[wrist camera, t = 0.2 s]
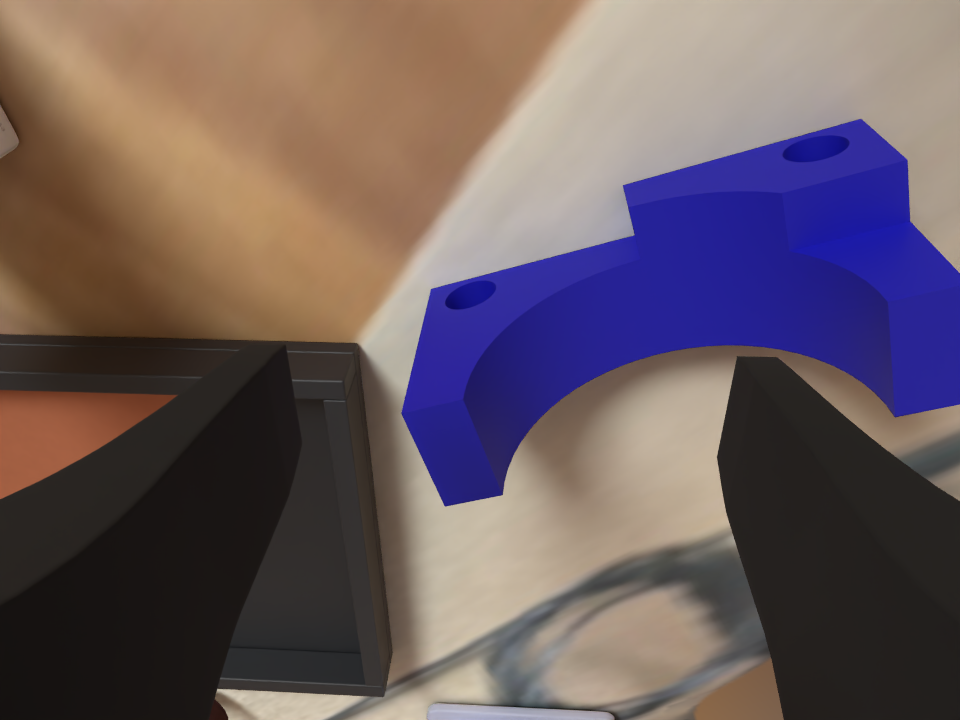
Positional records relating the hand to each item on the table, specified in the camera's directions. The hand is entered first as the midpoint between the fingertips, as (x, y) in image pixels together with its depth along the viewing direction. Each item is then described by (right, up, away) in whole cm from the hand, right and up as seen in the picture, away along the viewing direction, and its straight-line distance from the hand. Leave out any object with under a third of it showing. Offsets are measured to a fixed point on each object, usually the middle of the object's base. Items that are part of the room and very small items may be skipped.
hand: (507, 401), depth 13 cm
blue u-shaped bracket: (+4, +4, +10) cm, 11 cm away
